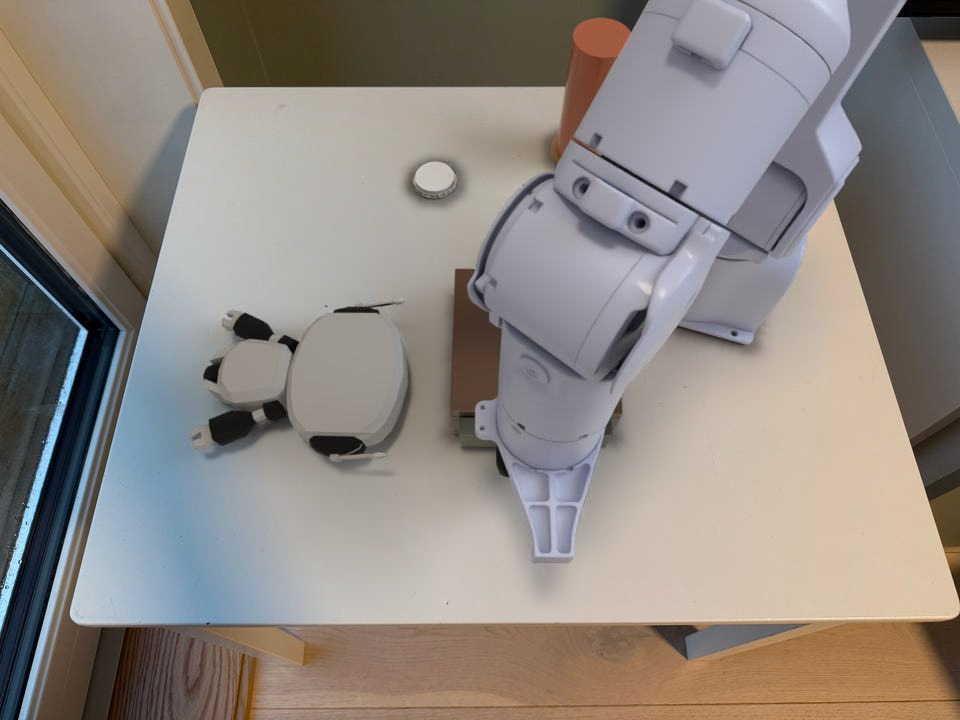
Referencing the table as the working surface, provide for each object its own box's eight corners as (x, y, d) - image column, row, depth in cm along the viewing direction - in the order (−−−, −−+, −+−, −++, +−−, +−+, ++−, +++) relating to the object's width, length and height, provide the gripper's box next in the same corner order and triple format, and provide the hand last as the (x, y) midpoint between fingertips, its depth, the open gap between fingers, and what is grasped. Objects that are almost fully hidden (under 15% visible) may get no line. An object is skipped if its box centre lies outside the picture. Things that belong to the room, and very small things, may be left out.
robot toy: (202, 468, 45) (404, 474, 44) (169, 448, 41) (391, 454, 40) (239, 322, 51) (420, 324, 49) (214, 292, 47) (410, 293, 45)
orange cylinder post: (610, 138, 58) (638, 24, 48) (599, 173, 56) (625, 62, 46) (563, 126, 59) (581, 12, 48) (550, 161, 57) (566, 49, 47)
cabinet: (610, 436, 45) (623, 413, 41) (452, 434, 45) (450, 411, 41) (598, 301, 51) (609, 269, 46) (457, 300, 51) (455, 268, 47)
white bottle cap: (412, 198, 55) (411, 193, 55) (413, 164, 57) (413, 159, 56) (457, 198, 55) (456, 193, 55) (457, 164, 57) (456, 159, 56)
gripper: (476, 259, 33) (477, 369, 45) (471, 540, 26) (474, 580, 38) (609, 260, 33) (574, 370, 45) (637, 542, 26) (587, 581, 38)
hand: (535, 467), depth 42 cm, fingers closed
